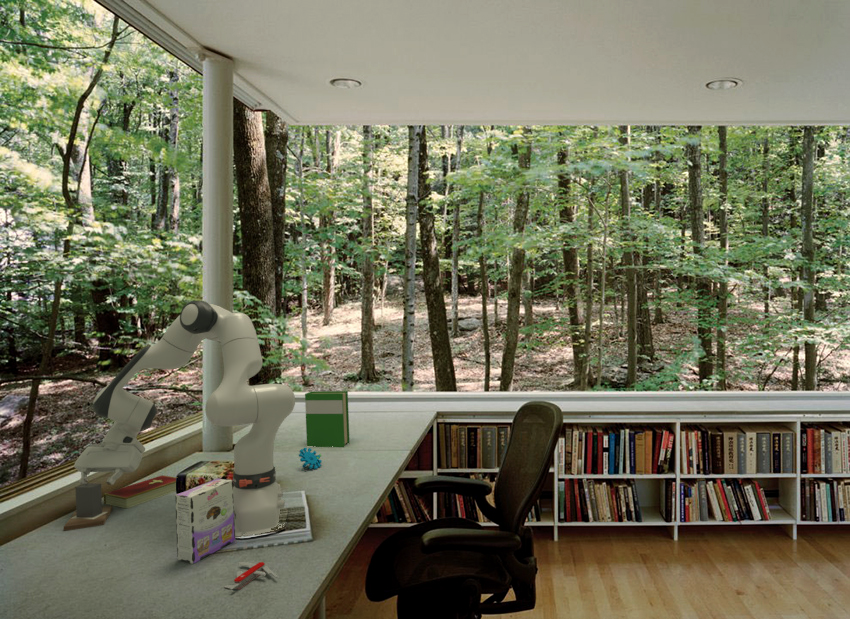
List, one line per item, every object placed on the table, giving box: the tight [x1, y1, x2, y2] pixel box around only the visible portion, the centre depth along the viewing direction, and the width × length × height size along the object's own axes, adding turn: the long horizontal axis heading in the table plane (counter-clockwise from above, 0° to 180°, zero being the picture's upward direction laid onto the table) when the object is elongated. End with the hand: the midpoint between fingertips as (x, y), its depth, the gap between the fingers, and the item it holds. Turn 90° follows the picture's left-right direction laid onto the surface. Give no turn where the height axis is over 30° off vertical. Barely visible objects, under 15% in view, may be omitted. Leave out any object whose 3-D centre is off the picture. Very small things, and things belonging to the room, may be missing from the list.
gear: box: [298, 447, 323, 470], centre depth 209 cm, size 11×6×10 cm
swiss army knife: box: [223, 561, 279, 590], centre depth 120 cm, size 12×14×2 cm
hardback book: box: [304, 390, 350, 448], centre depth 244 cm, size 18×7×24 cm, turn 79°
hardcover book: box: [103, 474, 177, 509], centre depth 182 cm, size 12×21×4 cm, turn 151°
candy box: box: [174, 477, 236, 565], centre depth 137 cm, size 14×6×16 cm, turn 154°
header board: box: [63, 505, 114, 532], centre depth 162 cm, size 14×10×4 cm
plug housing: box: [75, 482, 103, 518], centre depth 162 cm, size 6×4×9 cm, turn 81°
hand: (95, 483), depth 165 cm, fingers open, 8 cm apart
